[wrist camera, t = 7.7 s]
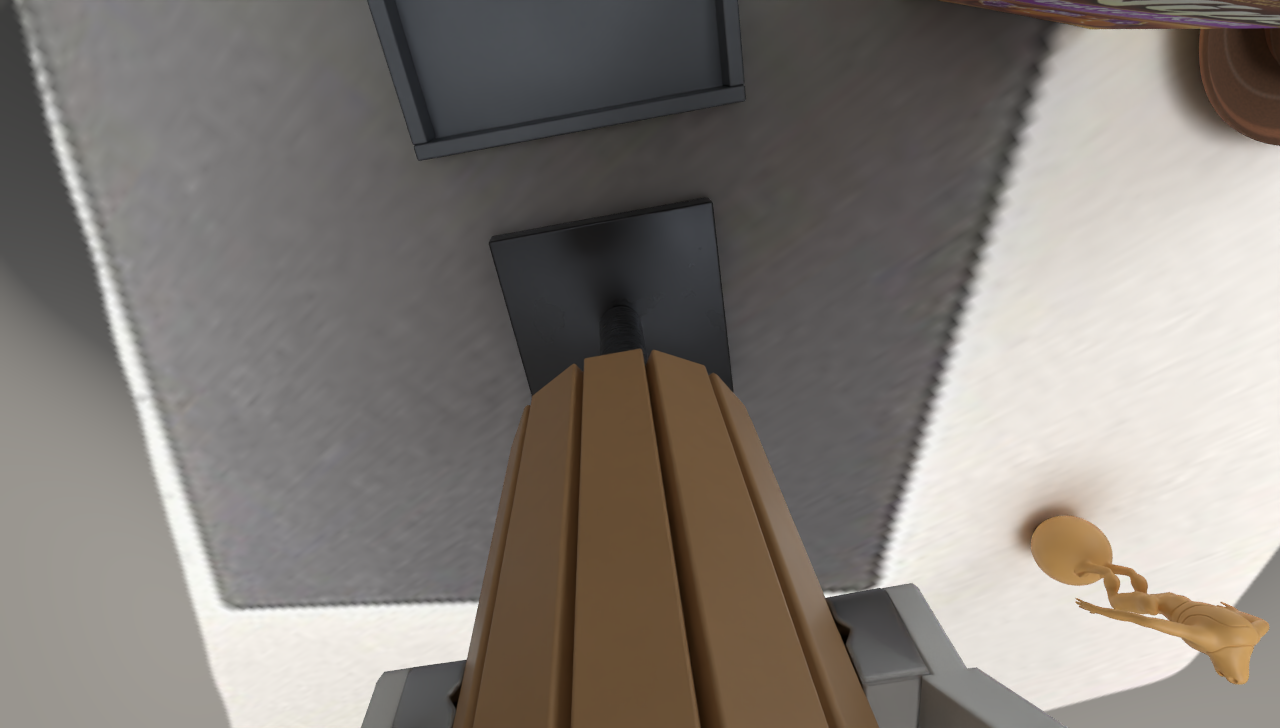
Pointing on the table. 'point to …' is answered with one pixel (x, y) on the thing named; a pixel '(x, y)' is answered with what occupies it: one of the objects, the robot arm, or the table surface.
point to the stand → (616, 289)
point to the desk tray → (553, 65)
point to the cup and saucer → (1243, 78)
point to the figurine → (1146, 596)
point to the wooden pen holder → (649, 568)
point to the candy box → (1143, 12)
